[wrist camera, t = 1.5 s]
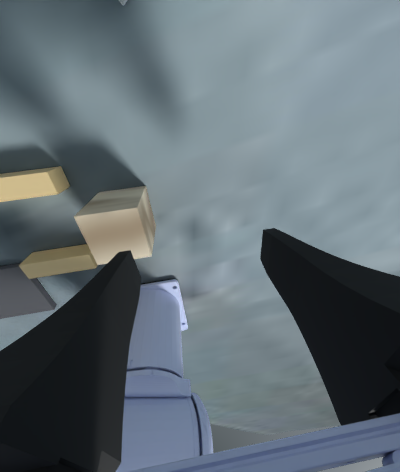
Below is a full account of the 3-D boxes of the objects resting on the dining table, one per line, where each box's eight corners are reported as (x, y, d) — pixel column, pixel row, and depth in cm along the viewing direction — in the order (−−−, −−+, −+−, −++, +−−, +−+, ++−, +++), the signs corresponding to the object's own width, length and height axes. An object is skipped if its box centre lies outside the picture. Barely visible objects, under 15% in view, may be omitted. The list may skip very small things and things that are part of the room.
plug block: (155, 225, 19) (151, 256, 14) (114, 232, 18) (97, 265, 14) (145, 185, 17) (137, 207, 12) (98, 192, 16) (73, 216, 12)
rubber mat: (56, 305, 22) (53, 309, 22) (-2, 315, 22) (-6, 319, 21) (24, 262, 19) (20, 266, 18) (-45, 273, 18) (-51, 277, 18)
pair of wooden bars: (102, 255, 19) (95, 268, 18) (41, 265, 19) (28, 278, 17) (61, 166, 15) (46, 171, 13) (-21, 176, 14) (-46, 183, 13)
